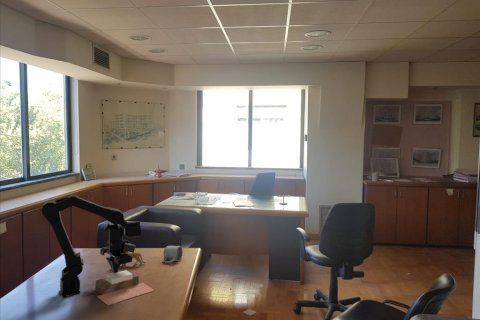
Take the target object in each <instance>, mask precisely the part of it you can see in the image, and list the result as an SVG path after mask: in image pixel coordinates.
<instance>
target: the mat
mask: <svg viewBox="0 0 480 320" xmlns="http://www.w3.org/2000/svg"><path fill="white" fill-rule="evenodd" d="M151 292H155V289H153V288H152V287H150V286H149V285H147V284H145V283H144V282H141V283H139V284H137V285H133V286H130V287H127V288H123V289H120V290H116V291H113V292H110V293H106V294H103V295H101V294H100V295H97V298H98V299H99V300H100V301H102V302H103V303H104V304H105V305H106V306H112V305H114V304H117V303H120V302H124V301H126V300H130V299H133V298H137V297H140V296H142V295H146V294H149V293H151Z"/></svg>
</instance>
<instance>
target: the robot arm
mask: <svg viewBox="0 0 480 320" xmlns="http://www.w3.org/2000/svg"><path fill="white" fill-rule="evenodd" d="M71 207H75V208H78V209H81V210H83V211H85V212H89V213H91V214H94V215H96V216H99V217H101V218H103V219H104V220H106V221H107V222H108V223H107V224H106V225H105V226H103V228H104V230H105V231H108V240H107V241H106V243H107V244H108V246H104V247H101V249H100V250H99V254H100V255H101V256H105V254H106V255H107V257H105V259H106V261H107V263H108V265H109V267H110V269H111V270H112V274H113V273H117V272H119V271H120V268H121V266H122V264H125V263H126V264H129V263H132V262H133V259H132V256H131V255H129V254H127V253H126V251H127V252H129V253H134V252H135V251H136V248H137V245H135V244H133V243H130V241H129V240H128V239H129V238H139V237H142V236H141V235H142V229H141V228H142V227H141V221H139V220H137V221H129V222H128V221H127V220H126V219H125V215H124V214H123V212H122V211H121V210H120V209H118V208H115V207H109V206H102V205H100V204H98V203H95V202H93V201H90V200H86V199H85V198H81V197H80V196H78V195H76V194H71V195H69V196H66V197H63V198H58V199H56V200H53V199H49V200H47V201H45V202H44V203H43V205H42V207H41V213H42V215H43V216H44V218H45V219H46V221H47V222H48V223H49V224H50V225H51V227H52V229H53V230H52V231H54V234H55V236H56V239H57V242H58V245H59V247H60V249H61V252H62V253H63V256H64V261H65V262H64V263H65V267H64V268H63V269H62V270H61V277H60V279H59V290H58V294H59V295H61V296H62V298H66V297H70V296H73V295H78V294H80V293H81V291H80V290H81V279H80V277H79V275H80V274H81V273H83V270H84V268H83V267H84V265H85V264H84V263H85V262H84V259H83V258H82V256H81V252H80V251H79V252H76V251H75V250H74V247H73V245H72V243H71V241H70V238H69V236H68V234H67V233H68V232H67V231H66V230H67V229H65V226H64V223H63V221H62V216H61V212H62V211H64V210H66V209H69V208H71ZM110 223H111V224H110ZM124 236H126V238H127V240H126V239H124ZM122 253H126V254H122Z"/></svg>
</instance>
